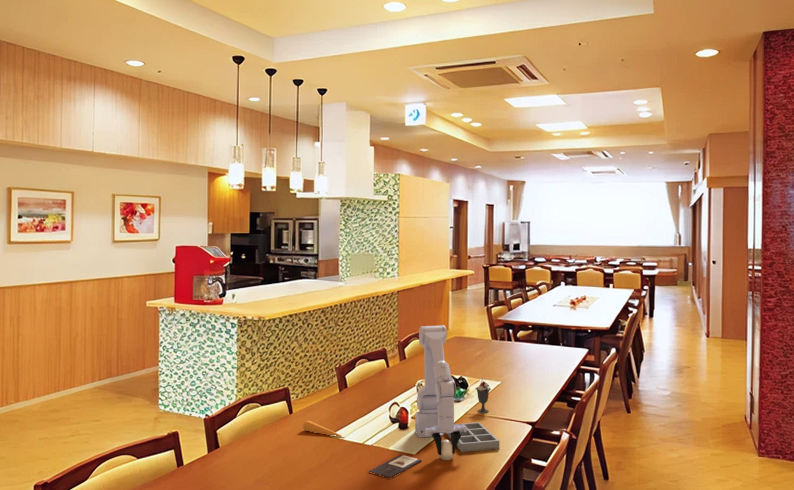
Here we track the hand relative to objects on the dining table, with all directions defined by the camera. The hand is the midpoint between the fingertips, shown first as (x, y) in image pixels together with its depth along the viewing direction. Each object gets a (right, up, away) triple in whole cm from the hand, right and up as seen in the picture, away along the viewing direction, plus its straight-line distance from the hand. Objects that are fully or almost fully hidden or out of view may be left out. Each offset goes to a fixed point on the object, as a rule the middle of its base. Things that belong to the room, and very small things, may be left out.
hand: (446, 453), depth 206 cm
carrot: (-46, -2, +25) cm, 52 cm away
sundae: (+21, 0, +52) cm, 56 cm away
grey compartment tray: (+11, -1, +17) cm, 20 cm away
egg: (0, -1, 0) cm, 1 cm away
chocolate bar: (-18, -2, -8) cm, 20 cm away
